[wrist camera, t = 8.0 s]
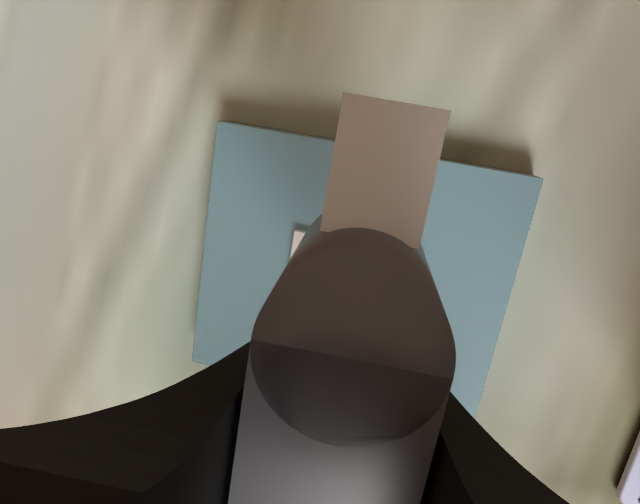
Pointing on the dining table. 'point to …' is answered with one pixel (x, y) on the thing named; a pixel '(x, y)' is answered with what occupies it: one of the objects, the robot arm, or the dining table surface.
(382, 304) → the plug
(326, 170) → the board
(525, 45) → the dining table surface
